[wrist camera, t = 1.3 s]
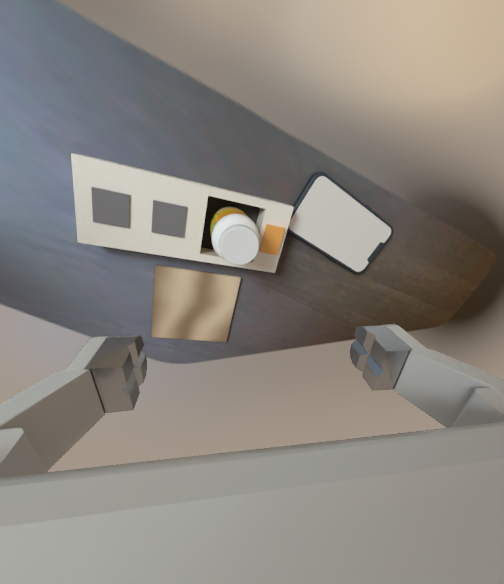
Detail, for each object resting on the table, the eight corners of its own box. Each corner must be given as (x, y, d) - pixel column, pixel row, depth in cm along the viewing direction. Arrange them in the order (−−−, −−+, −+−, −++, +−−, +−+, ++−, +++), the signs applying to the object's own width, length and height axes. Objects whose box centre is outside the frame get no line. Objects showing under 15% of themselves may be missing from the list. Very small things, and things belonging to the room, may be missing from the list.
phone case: (278, 226, 34) (354, 273, 40) (281, 228, 33) (360, 277, 38) (314, 167, 31) (390, 227, 37) (319, 166, 30) (398, 229, 36)
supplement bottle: (205, 209, 30) (207, 223, 22) (246, 202, 31) (263, 214, 23) (213, 249, 33) (218, 276, 25) (251, 242, 34) (268, 266, 25)
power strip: (88, 236, 29) (75, 243, 26) (84, 155, 26) (68, 152, 23) (269, 265, 36) (275, 274, 33) (286, 203, 32) (295, 207, 29)
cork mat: (151, 335, 37) (150, 337, 37) (156, 264, 32) (155, 265, 32) (226, 340, 40) (226, 342, 40) (240, 276, 36) (240, 277, 35)
